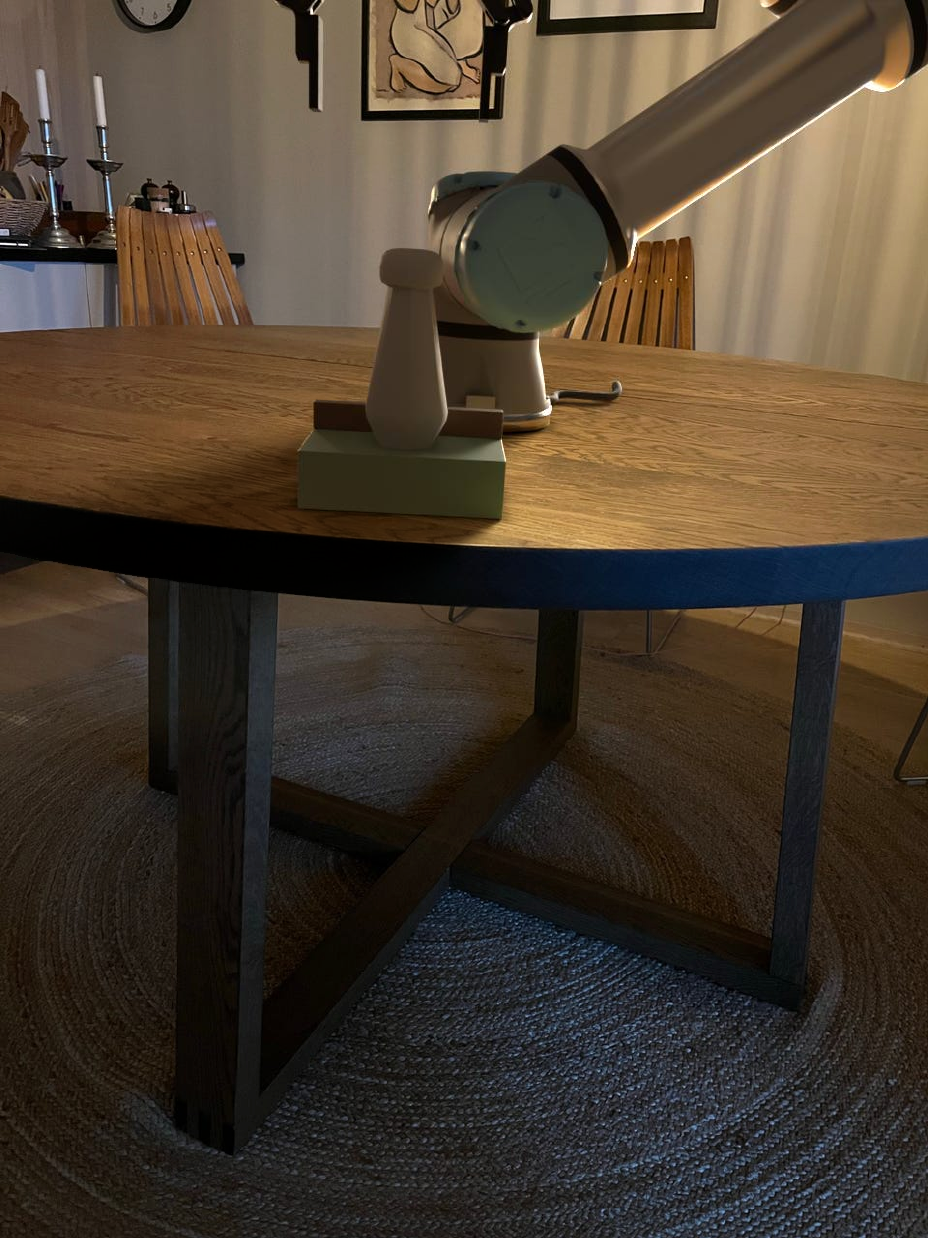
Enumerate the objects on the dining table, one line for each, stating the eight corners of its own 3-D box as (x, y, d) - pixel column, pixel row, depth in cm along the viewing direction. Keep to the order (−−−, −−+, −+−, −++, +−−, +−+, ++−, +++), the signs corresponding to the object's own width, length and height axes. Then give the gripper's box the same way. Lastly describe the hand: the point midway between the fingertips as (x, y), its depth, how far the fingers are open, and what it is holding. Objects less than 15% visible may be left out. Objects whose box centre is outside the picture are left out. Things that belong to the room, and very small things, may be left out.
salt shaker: (364, 434, 73) (368, 245, 68) (442, 437, 73) (451, 250, 69) (364, 451, 67) (368, 246, 63) (448, 454, 68) (458, 251, 63)
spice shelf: (315, 478, 76) (315, 399, 74) (497, 487, 77) (502, 409, 75) (297, 508, 68) (297, 420, 66) (502, 519, 68) (508, 432, 66)
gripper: (573, -176, 77) (549, 129, 85) (248, -199, 76) (254, 110, 84) (584, -217, 70) (557, 120, 78) (227, -242, 69) (235, 99, 77)
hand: (399, 115), depth 81 cm, fingers open, 13 cm apart
